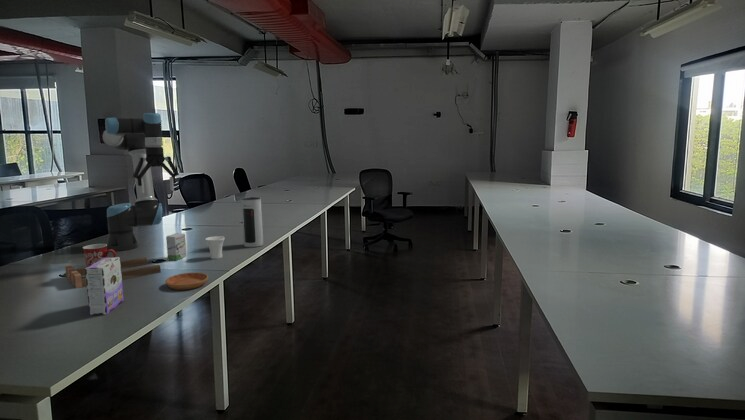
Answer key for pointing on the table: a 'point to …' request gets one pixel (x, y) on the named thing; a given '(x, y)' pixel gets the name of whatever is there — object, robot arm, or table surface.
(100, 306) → the candy box
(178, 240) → the ink box
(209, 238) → the cup
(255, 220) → the speaker
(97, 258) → the mug
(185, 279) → the saucer
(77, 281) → the guide channel
